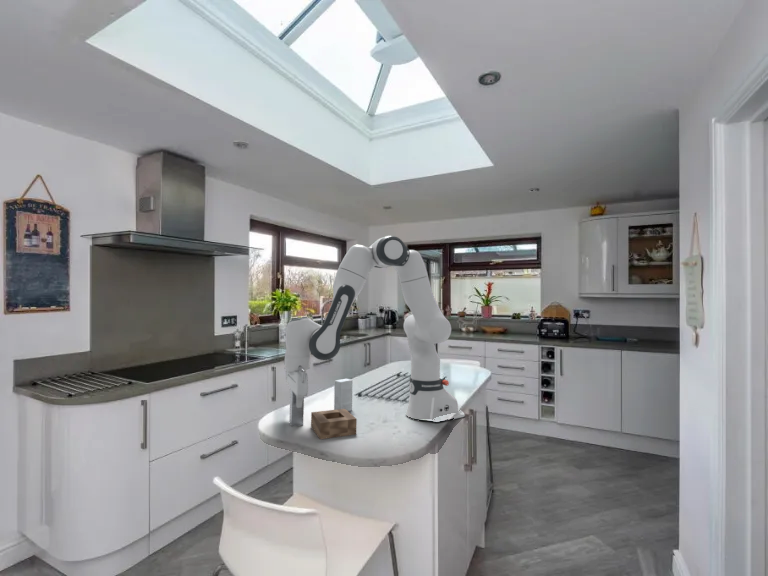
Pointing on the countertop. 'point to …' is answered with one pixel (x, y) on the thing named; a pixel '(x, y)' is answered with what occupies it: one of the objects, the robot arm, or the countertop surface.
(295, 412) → the metal peg
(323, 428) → the walnut socket block
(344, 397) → the skincare box
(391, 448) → the countertop surface
